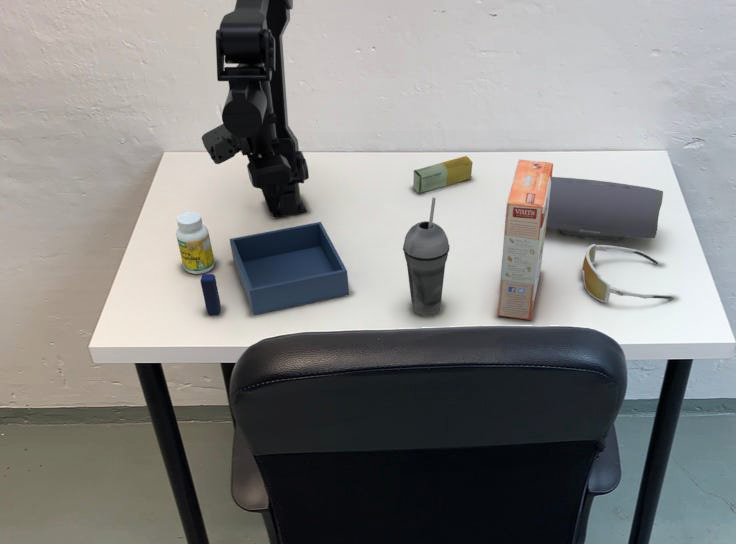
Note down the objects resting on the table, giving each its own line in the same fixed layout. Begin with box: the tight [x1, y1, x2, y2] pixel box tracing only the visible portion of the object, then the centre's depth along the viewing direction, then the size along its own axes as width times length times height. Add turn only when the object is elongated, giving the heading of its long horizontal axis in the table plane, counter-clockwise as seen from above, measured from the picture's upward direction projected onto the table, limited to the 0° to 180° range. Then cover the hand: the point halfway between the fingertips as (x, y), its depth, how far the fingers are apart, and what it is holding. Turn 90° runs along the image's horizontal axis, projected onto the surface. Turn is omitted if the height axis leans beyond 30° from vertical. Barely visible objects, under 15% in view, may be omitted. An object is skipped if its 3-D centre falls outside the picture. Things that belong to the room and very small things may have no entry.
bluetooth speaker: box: [546, 176, 664, 241], centre depth 159 cm, size 23×9×10 cm, turn 77°
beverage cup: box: [402, 197, 450, 317], centre depth 139 cm, size 7×7×20 cm
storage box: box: [229, 221, 350, 316], centre depth 151 cm, size 16×16×5 cm
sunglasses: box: [581, 243, 675, 303], centre depth 150 cm, size 14×15×5 cm
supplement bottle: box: [175, 211, 216, 275], centre depth 152 cm, size 5×5×10 cm
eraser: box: [200, 273, 222, 316], centre depth 143 cm, size 2×2×7 cm
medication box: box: [412, 155, 473, 195], centre depth 174 cm, size 12×3×4 cm, turn 118°
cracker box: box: [497, 159, 554, 321], centre depth 142 cm, size 14×6×21 cm, turn 168°
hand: (266, 197), depth 147 cm, fingers open, 9 cm apart
